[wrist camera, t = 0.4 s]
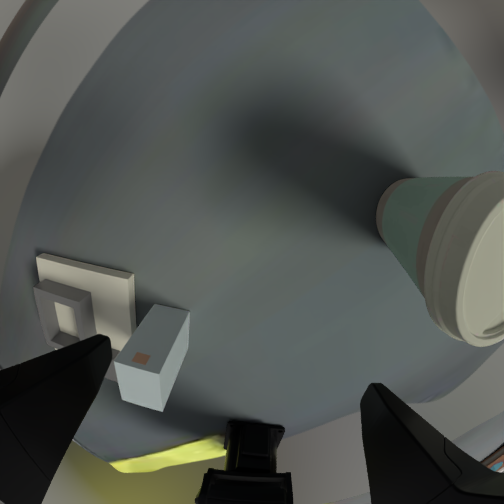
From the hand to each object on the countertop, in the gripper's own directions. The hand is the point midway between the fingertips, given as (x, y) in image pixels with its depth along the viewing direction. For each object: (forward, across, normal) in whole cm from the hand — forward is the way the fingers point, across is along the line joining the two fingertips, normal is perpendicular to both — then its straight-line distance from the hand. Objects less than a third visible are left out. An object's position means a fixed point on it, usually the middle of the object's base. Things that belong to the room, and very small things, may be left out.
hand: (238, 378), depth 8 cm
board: (+14, +15, +10) cm, 23 cm away
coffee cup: (+14, -11, -5) cm, 18 cm away
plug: (+14, +6, +8) cm, 17 cm away
